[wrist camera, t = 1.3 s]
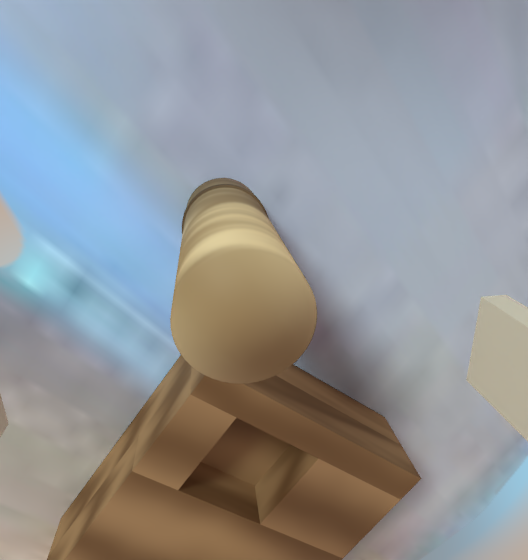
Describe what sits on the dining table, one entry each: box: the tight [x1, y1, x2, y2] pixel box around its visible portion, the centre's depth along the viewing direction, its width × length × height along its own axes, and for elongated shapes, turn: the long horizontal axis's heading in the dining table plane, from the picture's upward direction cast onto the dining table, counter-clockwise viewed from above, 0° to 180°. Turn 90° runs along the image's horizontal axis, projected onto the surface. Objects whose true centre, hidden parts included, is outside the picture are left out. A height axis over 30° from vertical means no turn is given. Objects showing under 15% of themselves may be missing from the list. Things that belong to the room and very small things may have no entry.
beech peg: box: [170, 178, 317, 384], centre depth 19 cm, size 5×5×14 cm
